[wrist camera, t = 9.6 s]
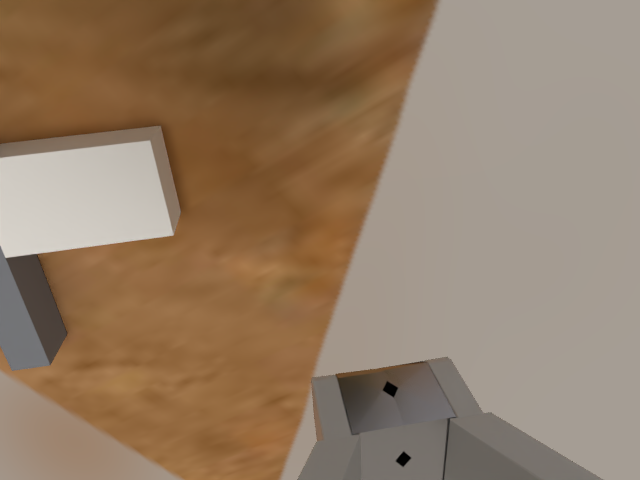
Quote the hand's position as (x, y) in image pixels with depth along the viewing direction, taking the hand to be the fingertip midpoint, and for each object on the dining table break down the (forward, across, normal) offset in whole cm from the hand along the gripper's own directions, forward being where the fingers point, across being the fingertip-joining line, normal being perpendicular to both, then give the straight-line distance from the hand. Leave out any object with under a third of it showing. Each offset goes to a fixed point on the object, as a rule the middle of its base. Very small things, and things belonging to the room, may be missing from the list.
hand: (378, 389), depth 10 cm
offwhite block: (+24, +13, +2) cm, 27 cm away
